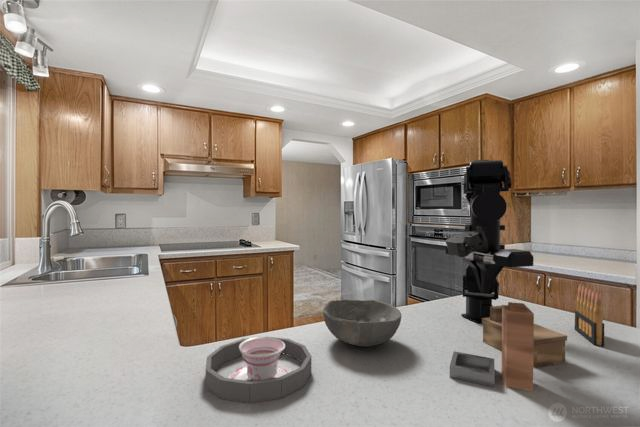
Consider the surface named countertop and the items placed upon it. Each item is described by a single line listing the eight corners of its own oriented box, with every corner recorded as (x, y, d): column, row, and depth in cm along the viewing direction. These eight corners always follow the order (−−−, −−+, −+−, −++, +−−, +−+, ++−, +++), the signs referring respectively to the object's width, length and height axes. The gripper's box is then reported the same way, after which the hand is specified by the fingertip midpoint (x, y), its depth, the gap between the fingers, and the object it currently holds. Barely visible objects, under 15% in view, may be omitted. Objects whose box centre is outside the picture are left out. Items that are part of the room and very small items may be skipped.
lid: (481, 322, 76) (481, 305, 76) (510, 319, 79) (510, 302, 79) (534, 345, 63) (534, 324, 63) (566, 340, 66) (567, 320, 66)
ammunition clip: (604, 346, 74) (605, 293, 74) (594, 345, 74) (595, 292, 74) (583, 330, 84) (583, 283, 84) (574, 329, 84) (574, 282, 84)
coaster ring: (208, 357, 67) (208, 342, 67) (297, 346, 73) (297, 333, 73) (203, 410, 50) (203, 390, 50) (322, 391, 55) (322, 373, 55)
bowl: (403, 363, 65) (403, 323, 65) (315, 355, 69) (315, 317, 69) (399, 331, 83) (399, 299, 83) (330, 325, 86) (330, 295, 86)
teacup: (307, 374, 61) (307, 341, 61) (265, 408, 51) (265, 367, 50) (257, 359, 67) (257, 329, 67) (210, 386, 57) (210, 350, 56)
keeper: (453, 361, 66) (453, 351, 66) (494, 369, 63) (494, 358, 63) (449, 377, 60) (449, 366, 60) (494, 387, 57) (494, 375, 57)
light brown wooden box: (482, 341, 76) (483, 323, 76) (510, 338, 78) (510, 320, 78) (533, 367, 64) (534, 345, 64) (564, 362, 66) (565, 340, 66)
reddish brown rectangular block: (501, 375, 61) (502, 300, 60) (526, 379, 59) (527, 302, 59) (506, 386, 57) (506, 306, 57) (532, 390, 56) (533, 308, 55)
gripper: (426, 218, 77) (425, 285, 77) (488, 223, 59) (486, 309, 59) (466, 218, 80) (465, 282, 80) (536, 222, 62) (535, 304, 63)
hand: (484, 293), depth 71 cm, fingers closed
